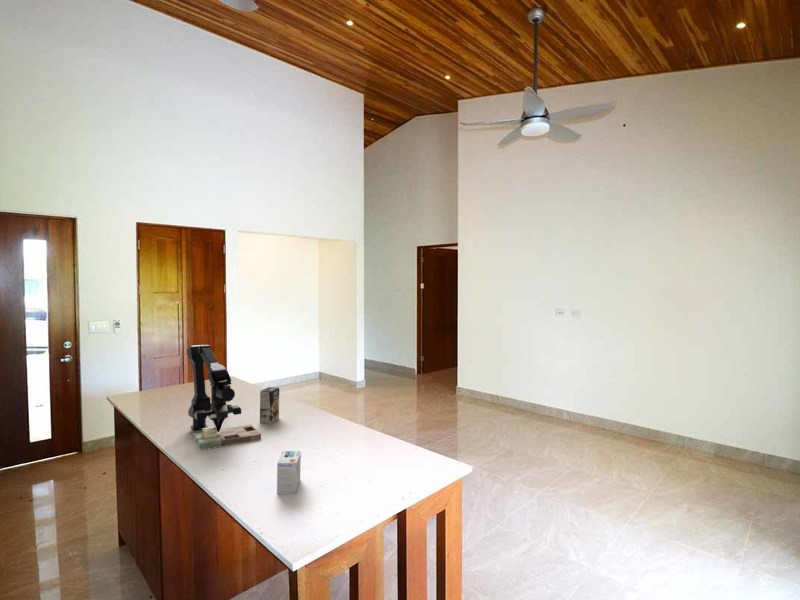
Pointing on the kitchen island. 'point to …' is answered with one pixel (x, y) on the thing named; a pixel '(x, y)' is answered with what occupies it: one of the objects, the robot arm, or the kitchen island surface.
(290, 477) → the light bulb box
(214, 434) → the block
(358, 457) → the kitchen island surface
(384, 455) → the kitchen island surface
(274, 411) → the coffee box
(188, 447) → the kitchen island surface
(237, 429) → the board
